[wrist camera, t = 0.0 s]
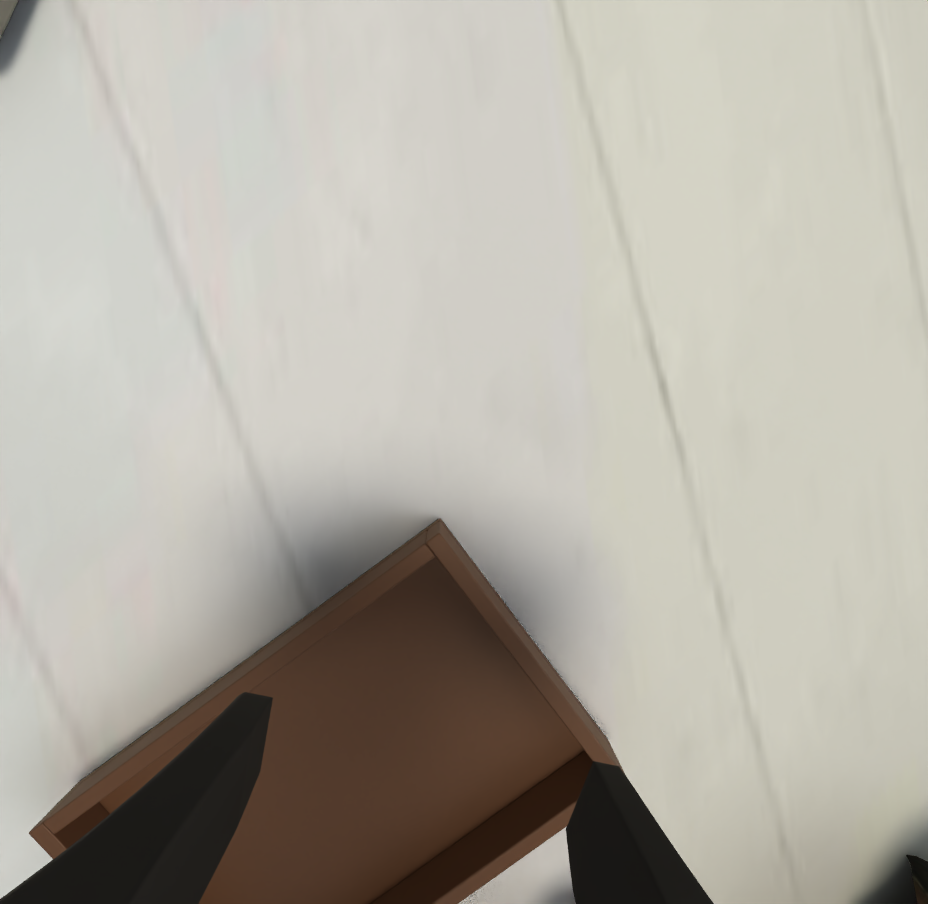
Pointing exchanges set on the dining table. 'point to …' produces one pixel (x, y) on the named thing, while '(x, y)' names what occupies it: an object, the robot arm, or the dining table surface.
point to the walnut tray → (381, 745)
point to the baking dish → (919, 878)
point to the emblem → (6, 13)
